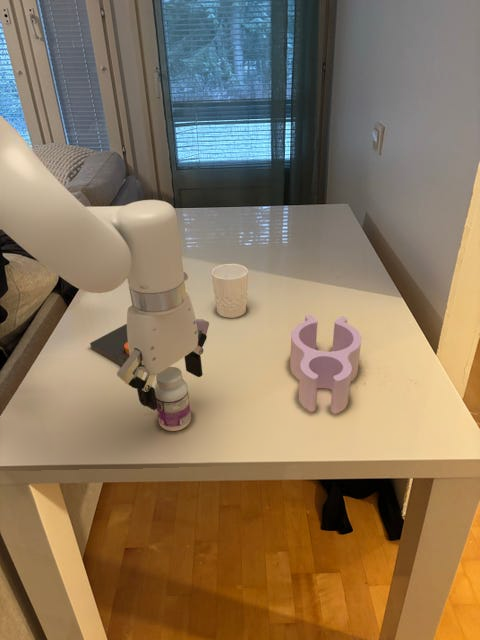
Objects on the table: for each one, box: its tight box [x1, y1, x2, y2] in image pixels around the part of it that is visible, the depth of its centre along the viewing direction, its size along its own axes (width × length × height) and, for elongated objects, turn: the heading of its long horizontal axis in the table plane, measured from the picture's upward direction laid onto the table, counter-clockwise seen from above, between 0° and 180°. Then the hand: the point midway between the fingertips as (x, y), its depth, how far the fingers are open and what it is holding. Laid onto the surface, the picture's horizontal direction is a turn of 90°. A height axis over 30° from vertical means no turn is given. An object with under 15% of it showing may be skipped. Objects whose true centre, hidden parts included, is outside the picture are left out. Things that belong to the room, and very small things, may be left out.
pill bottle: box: [153, 366, 192, 432], centre depth 74 cm, size 5×5×10 cm
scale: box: [89, 323, 138, 375], centre depth 95 cm, size 16×14×3 cm
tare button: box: [124, 342, 130, 355], centre depth 89 cm, size 3×3×2 cm
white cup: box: [211, 263, 249, 319], centre depth 104 cm, size 8×8×10 cm
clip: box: [289, 314, 362, 415], centre depth 84 cm, size 20×12×7 cm, turn 171°
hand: (172, 388), depth 73 cm, fingers open, 9 cm apart
